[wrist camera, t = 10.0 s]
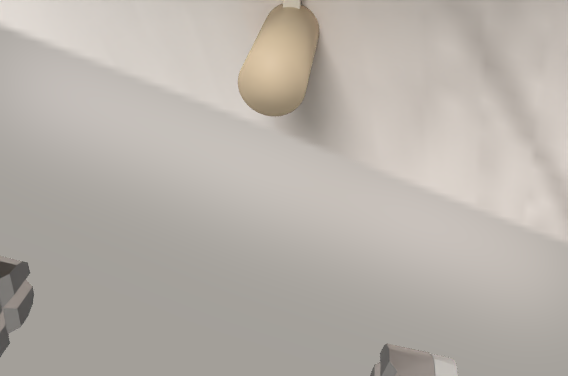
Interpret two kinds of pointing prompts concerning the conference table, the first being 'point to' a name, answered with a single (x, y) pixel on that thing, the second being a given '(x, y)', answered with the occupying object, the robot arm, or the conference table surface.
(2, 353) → the robot arm
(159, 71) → the conference table surface
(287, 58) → the tethered block
